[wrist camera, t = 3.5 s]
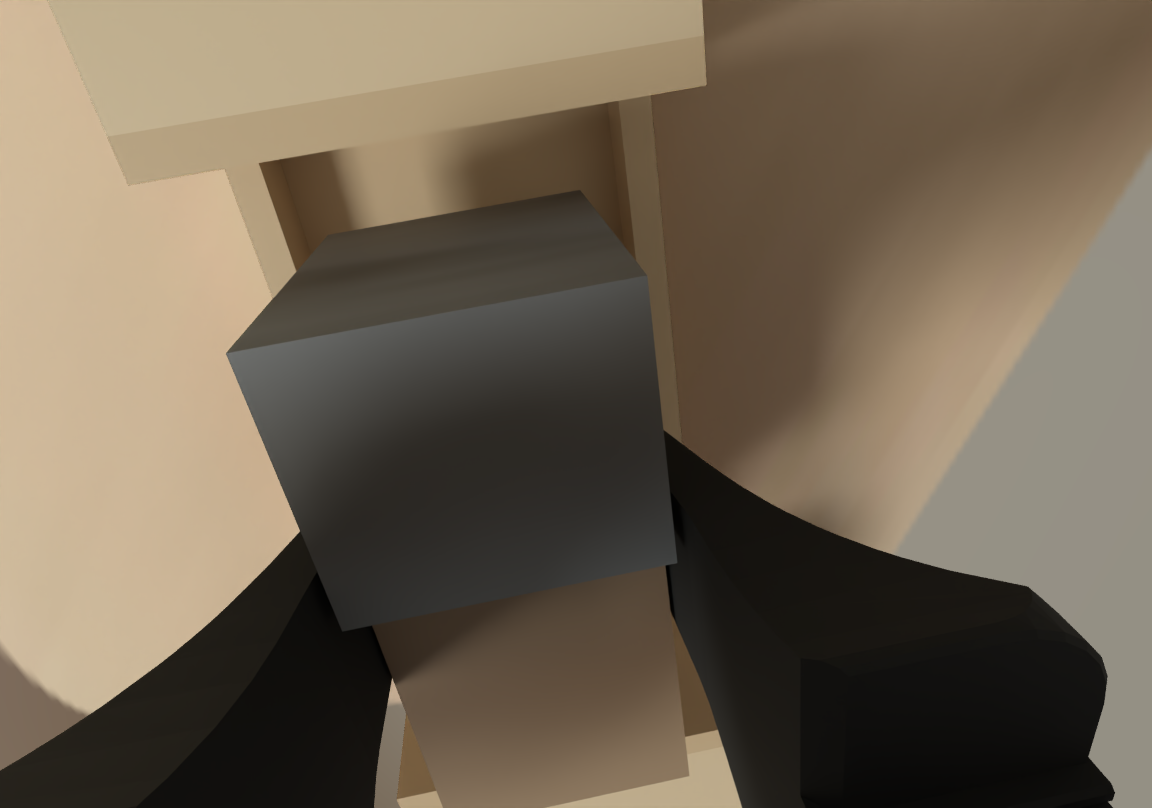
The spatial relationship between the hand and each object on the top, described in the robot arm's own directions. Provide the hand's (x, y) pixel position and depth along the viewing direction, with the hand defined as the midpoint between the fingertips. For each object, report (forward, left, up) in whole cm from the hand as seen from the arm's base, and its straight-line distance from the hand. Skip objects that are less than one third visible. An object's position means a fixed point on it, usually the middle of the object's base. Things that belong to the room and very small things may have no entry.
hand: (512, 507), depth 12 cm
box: (0, 0, -2) cm, 2 cm away
